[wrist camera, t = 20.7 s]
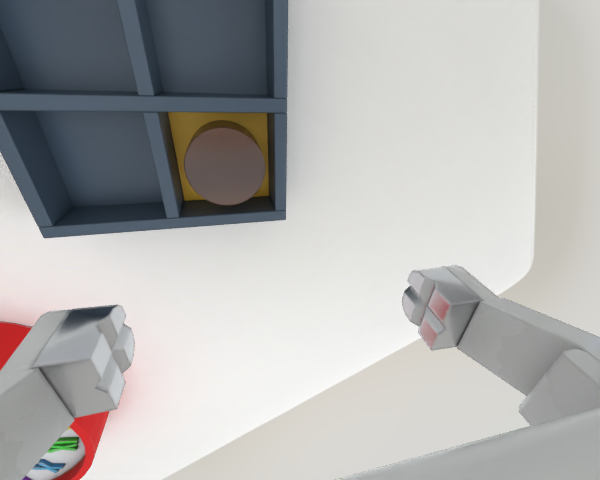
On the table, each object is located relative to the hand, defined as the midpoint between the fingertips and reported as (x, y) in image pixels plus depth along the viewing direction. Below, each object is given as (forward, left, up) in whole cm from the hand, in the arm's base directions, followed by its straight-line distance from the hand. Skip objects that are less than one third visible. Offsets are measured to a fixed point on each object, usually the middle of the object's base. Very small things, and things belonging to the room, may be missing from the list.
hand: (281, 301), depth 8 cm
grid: (-4, -5, -16) cm, 17 cm away
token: (0, -1, -15) cm, 15 cm away
